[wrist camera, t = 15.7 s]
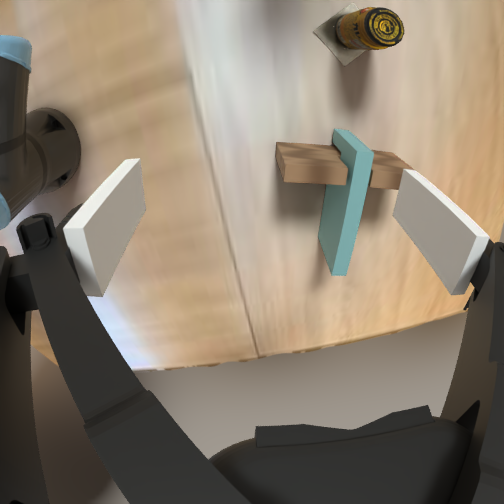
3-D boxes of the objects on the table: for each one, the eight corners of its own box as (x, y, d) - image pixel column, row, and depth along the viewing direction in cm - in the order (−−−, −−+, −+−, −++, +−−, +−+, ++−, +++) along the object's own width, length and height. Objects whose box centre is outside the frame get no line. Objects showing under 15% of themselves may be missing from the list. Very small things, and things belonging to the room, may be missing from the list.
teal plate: (334, 128, 46) (356, 151, 37) (348, 130, 46) (374, 153, 37) (317, 236, 58) (331, 275, 49) (330, 236, 58) (345, 275, 49)
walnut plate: (275, 156, 49) (284, 182, 40) (276, 142, 48) (285, 164, 39) (390, 165, 50) (419, 192, 41) (392, 152, 49) (423, 176, 40)
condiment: (382, 38, 38) (420, 36, 28) (344, 66, 41) (374, 70, 31) (352, 2, 35) (384, -11, 25) (312, 31, 38) (335, 23, 28)
